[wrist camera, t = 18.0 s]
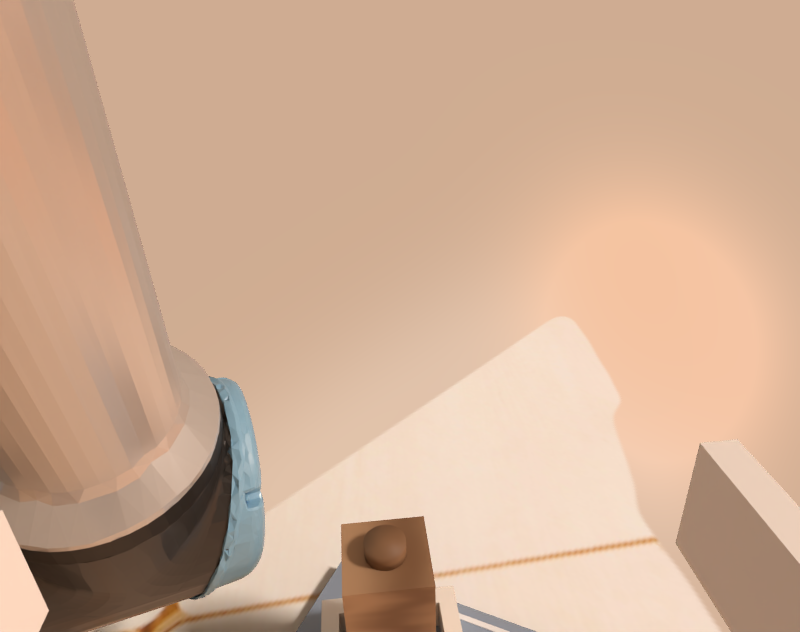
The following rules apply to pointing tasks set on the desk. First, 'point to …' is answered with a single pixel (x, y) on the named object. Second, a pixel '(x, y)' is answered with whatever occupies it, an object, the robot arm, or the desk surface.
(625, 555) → the desk surface
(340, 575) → the board
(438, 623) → the socket collar
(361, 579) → the pillar
